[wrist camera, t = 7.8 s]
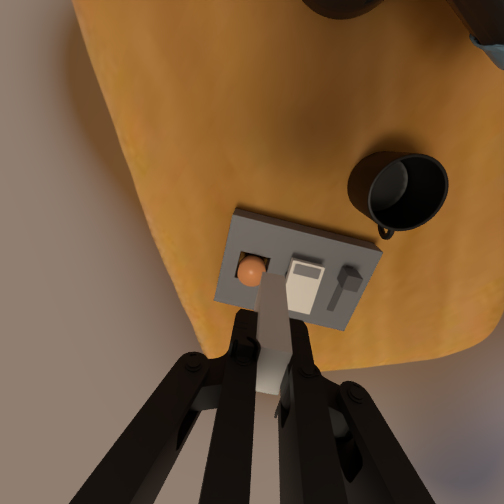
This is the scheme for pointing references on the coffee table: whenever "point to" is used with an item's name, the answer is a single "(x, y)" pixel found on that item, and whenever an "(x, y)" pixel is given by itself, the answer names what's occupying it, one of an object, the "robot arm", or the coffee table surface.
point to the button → (251, 270)
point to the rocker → (302, 284)
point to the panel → (300, 247)
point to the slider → (349, 279)
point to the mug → (398, 190)
